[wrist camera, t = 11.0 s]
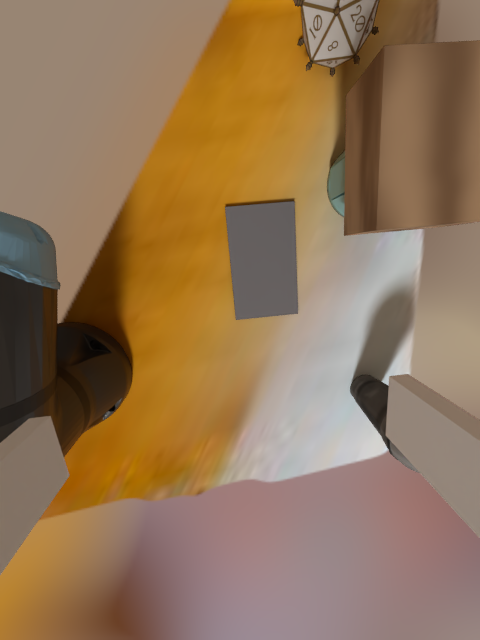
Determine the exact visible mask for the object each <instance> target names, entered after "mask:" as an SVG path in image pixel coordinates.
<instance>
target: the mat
mask: <svg viewBox="0 0 480 640" xmlns="http://www.w3.org/2000/svg"><path fill="white" fill-rule="evenodd" d="M225 210H226V221H227V231H228V242H229V252H230V263H231V273H232V284H233V294H234V304H235V315H236V320H240V319H250V318H259V317H269V316H279V315H288V314H298V298H297V267H296V235H295V204H294V201H291V202H279V203H267V204H255V205H243V206H231V207H225Z"/></svg>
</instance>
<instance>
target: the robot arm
mask: <svg viewBox="0 0 480 640" xmlns="http://www.w3.org/2000/svg"><path fill="white" fill-rule="evenodd" d="M58 289H60V283H59V282H58V281H57V267H56V251H55V245H54V242H53V240H52V238H51V237H50V235H49V234H48V233H47V232H46V231H45V230H44V229H43V228H41V227H40V226H38V225H36V224H34V223H33V222H30V221H28V220H25V219H22V218H19V217H16V216H13V215H10V214H7V213H4V212H0V575H1V573H2V572H3V570H4V569H5V567H6V566H7V565H8V563H9V562H10V560H11V559H12V557H13V556H14V555H15V553H16V552H17V550H18V549H19V547H20V546H21V545H22V543H23V542H24V540H25V539H26V537H27V536H28V534H29V533H30V532H31V530H32V529H33V527H34V525H35V524H36V523H37V521H38V520H39V519H40V517H41V516H42V514H43V513H44V511H45V510H46V509H47V507H48V506H49V504H50V503H51V501H52V500H53V498H54V497H55V496H56V494H57V493H58V491H59V490H60V488H61V487H62V486H63V484H64V483H65V481H66V480H67V478H68V477H69V473H68V469H67V466H66V463H65V460H64V457H65V455H66V454H67V453H68V451H69V450H70V449H71V448H72V446H73V445H74V444H75V442H76V441H77V440H78V438H79V437H80V436H81V435H82V434H83V433H84V432H85V431H87V430H89V429H90V428H92V427H94V426H95V425H97V424H99V423H100V422H102V421H104V420H105V419H107V418H108V417H109V416H111V415H112V414H113V413H114V412H115V411H116V410H117V409H118V408H119V406H120V405H121V404H122V402H123V401H124V399H125V398H126V396H127V394H128V392H129V390H130V387H131V382H132V370H131V365H130V362H129V359H128V357H127V355H126V353H125V351H124V350H123V348H122V347H121V346H120V345H119V343H118V342H117V341H116V340H115V339H114V338H112V337H111V336H110V335H108V334H107V333H105V332H104V331H102V330H100V329H98V328H96V327H93V326H90V325H87V324H82V323H74V322H68V323H59V324H57V290H58ZM386 436H387V437H388V439H389V440H390V441H391V442H392V443H393V444H394V445H395V446H396V447H397V448H398V449H399V451H400V452H401V453H402V454H403V455H404V456H405V457H406V458H407V459H408V460H409V461H410V463H411V464H412V465H413V466H414V467H415V468H416V469H417V470H418V471H419V472H420V474H421V475H422V476H423V477H424V478H425V479H426V480H427V481H428V482H429V483H430V484H431V485H432V487H433V488H434V489H435V490H436V491H437V492H438V493H439V494H440V495H441V496H442V497H443V499H444V500H445V501H446V502H447V503H448V504H449V505H450V506H451V507H452V508H453V510H454V511H455V512H456V513H457V514H458V515H459V516H460V517H461V518H462V519H463V521H464V522H465V523H467V525H468V526H469V527H470V528H471V529H472V530H473V531H474V532H475V534H476V535H477V536H478V537H479V538H480V420H479V419H478V418H476V417H475V416H473V415H471V414H470V413H468V412H467V411H465V410H464V409H462V408H460V407H459V406H457V405H456V404H454V403H453V402H451V401H449V400H448V399H446V398H445V397H443V396H441V395H440V394H438V393H437V392H435V391H434V390H432V389H430V388H429V387H427V386H426V385H424V384H422V383H421V382H419V381H418V380H416V379H415V378H413V377H412V376H410V375H408V374H405V375H397V376H389V389H388V405H387V420H386Z"/></svg>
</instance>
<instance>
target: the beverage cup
mask: <svg viewBox="0 0 480 640" xmlns="http://www.w3.org/2000/svg"><path fill="white" fill-rule="evenodd" d="M388 389H389V386H388V385H386V384H384V383H383V382H381V381H379V380H377V379H375V378H374V377H372V376H370V375H362V376H359V377H357V378H356V379H355V380H354V381H353V382H352V384H351V387H350V392H351V394H352V396H353V397H354V399H355V401H356V402H357V404H358V405H359V406H360V408H361V409H362V410H363V412H364V413H365V414H366V416H367V417H368V419H369V420H370V421H371V423H372V424H373V425H374V427H375V428H376V429H377V431H378V432H379V434H380V435H381V436H382V439H383V441H384V442H385V444H386V446H387V448H388V449H389V452H390V454H392V455H393V456H394V457H395V458H396V459H397V460H399V461H400V462H401V463H402V464H403V465H405V466H406V467H408V468H410V469H411V470H413V471H416V472H418V473H420V472H419V471H418V470H417V469H416V468H415V467H414V466H413V465H412V464H411V463H410V461H409V460H408V459H407V458H406V457H405V456H404V455H403V454H402V453H401V452H400V451H399V449H398V448H397V447H396V446H395V445H394V444H393V443H392V442H391V441H390V440H389V439H388V437H387V436H386V420H387V405H388Z"/></svg>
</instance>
